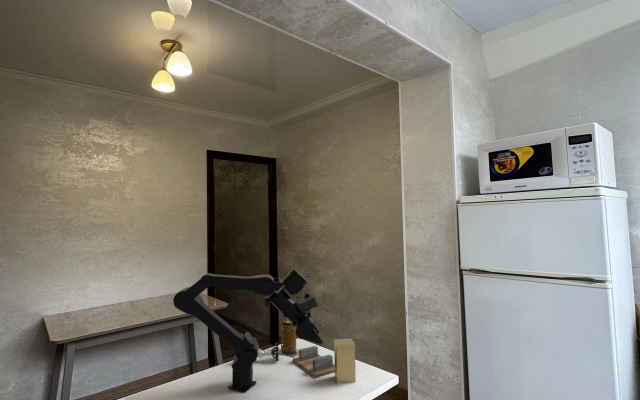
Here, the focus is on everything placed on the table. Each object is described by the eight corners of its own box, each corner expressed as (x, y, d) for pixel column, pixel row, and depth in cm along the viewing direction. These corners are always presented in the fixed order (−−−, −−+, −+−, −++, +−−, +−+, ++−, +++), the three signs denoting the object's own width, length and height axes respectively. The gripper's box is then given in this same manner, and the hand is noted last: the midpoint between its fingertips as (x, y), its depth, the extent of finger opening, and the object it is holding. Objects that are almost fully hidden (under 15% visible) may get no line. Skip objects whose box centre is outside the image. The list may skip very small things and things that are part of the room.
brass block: (337, 383, 103) (336, 344, 104) (334, 376, 108) (334, 339, 109) (355, 382, 104) (354, 343, 105) (352, 375, 109) (351, 338, 110)
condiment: (286, 347, 134) (286, 318, 135) (304, 350, 130) (303, 320, 131) (276, 353, 128) (276, 322, 129) (294, 357, 124) (294, 325, 125)
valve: (245, 367, 116) (278, 364, 118) (245, 348, 116) (278, 346, 118) (246, 360, 122) (277, 357, 124) (246, 342, 123) (277, 339, 125)
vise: (339, 370, 112) (339, 357, 112) (315, 378, 107) (314, 364, 107) (315, 354, 126) (315, 343, 126) (292, 360, 121) (292, 348, 121)
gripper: (306, 292, 98) (342, 328, 98) (301, 282, 116) (332, 312, 117) (280, 320, 96) (317, 356, 97) (279, 305, 114) (310, 335, 115)
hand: (320, 338), depth 106 cm, fingers open, 9 cm apart
